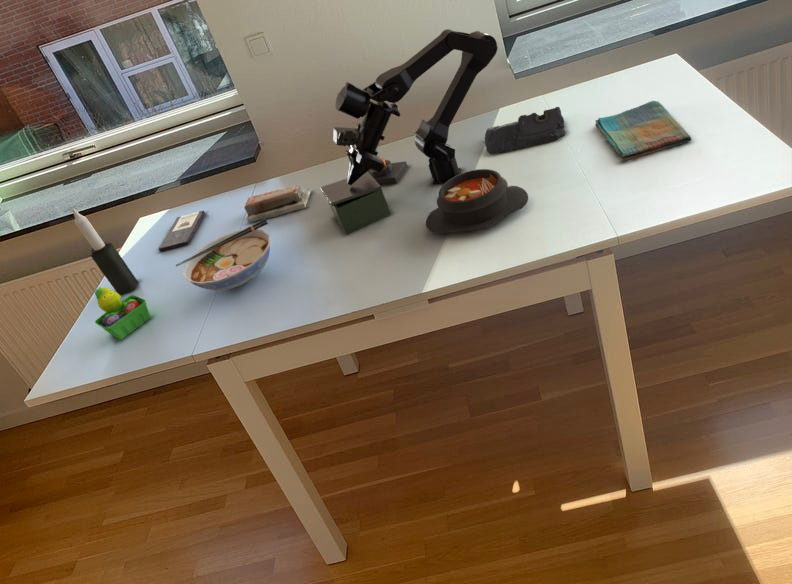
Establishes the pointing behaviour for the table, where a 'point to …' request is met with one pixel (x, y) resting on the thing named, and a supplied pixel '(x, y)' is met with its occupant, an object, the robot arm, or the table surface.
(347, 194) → the grey flat plate
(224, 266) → the ramen bowl
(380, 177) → the pad
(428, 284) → the table surface
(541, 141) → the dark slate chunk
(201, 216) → the chocolate bar
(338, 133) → the robot arm
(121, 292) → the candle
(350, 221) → the dark green boxy piece
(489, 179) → the casserole
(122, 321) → the fruit basket
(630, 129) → the dish towel
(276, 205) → the packaged product
